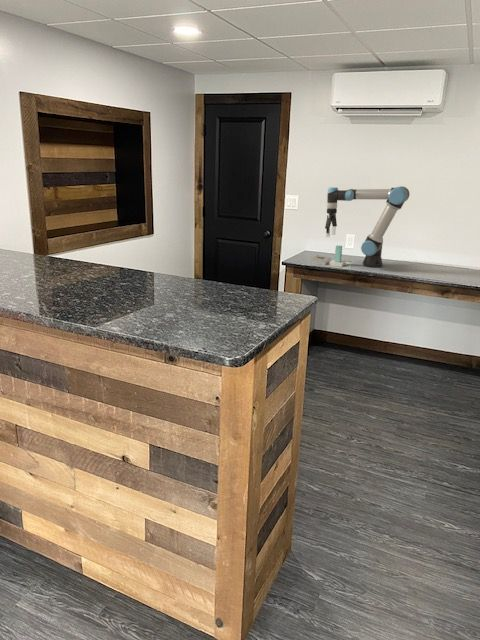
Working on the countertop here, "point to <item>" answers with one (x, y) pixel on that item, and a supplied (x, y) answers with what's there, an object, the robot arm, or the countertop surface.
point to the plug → (338, 253)
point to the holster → (337, 263)
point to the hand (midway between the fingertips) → (330, 236)
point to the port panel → (320, 260)
